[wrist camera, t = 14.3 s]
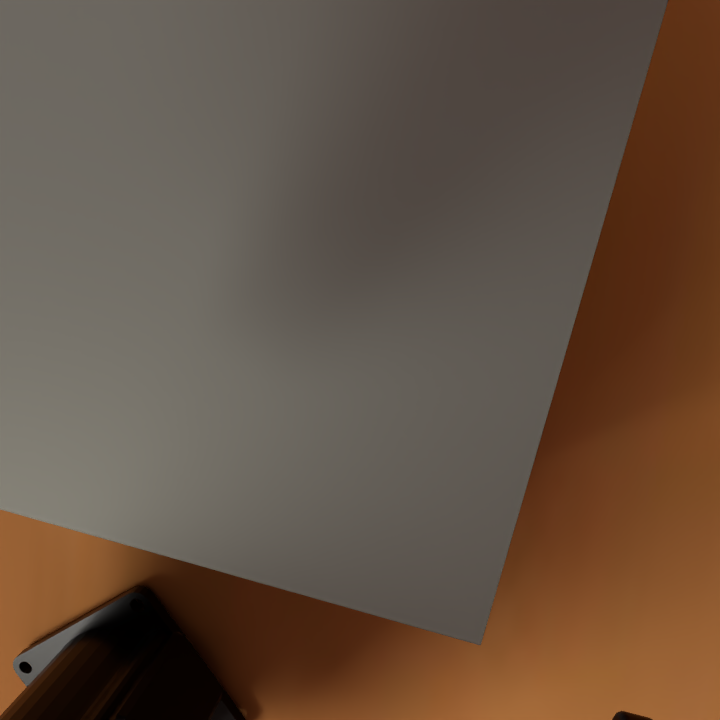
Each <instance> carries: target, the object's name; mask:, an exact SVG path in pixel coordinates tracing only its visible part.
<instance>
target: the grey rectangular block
mask: <svg viewBox="0 0 720 720" xmlns="http://www.w3.org/2000/svg"><path fill="white" fill-rule="evenodd" d="M667 3H668V0H0V509H1V510H5V511H8V512H12V513H15V514H19V515H22V516H26V517H29V518H33V519H36V520H40V521H43V522H47V523H50V524H54V525H57V526H61V527H65V528H68V529H72V530H75V531H79V532H82V533H86V534H89V535H93V536H96V537H100V538H103V539H107V540H110V541H114V542H117V543H121V544H125V545H128V546H132V547H135V548H139V549H142V550H146V551H149V552H153V553H156V554H160V555H163V556H167V557H170V558H174V559H177V560H181V561H185V562H188V563H192V564H195V565H199V566H202V567H206V568H209V569H213V570H216V571H220V572H223V573H227V574H230V575H234V576H237V577H241V578H245V579H248V580H252V581H255V582H259V583H262V584H266V585H269V586H273V587H276V588H280V589H283V590H287V591H290V592H294V593H297V594H301V595H305V596H308V597H312V598H315V599H319V600H322V601H326V602H329V603H333V604H336V605H340V606H343V607H347V608H350V609H354V610H357V611H361V612H365V613H368V614H372V615H375V616H379V617H382V618H386V619H389V620H393V621H396V622H400V623H403V624H407V625H410V626H414V627H417V628H421V629H425V630H428V631H432V632H435V633H439V634H442V635H446V636H449V637H453V638H456V639H460V640H463V641H467V642H470V643H474V644H477V645H481V642H482V638H483V635H484V631H485V628H486V625H487V621H488V618H489V614H490V611H491V607H492V604H493V601H494V597H495V594H496V590H497V587H498V583H499V580H500V576H501V573H502V570H503V566H504V563H505V559H506V556H507V552H508V549H509V546H510V542H511V539H512V535H513V532H514V528H515V525H516V522H517V518H518V515H519V511H520V508H521V504H522V501H523V497H524V494H525V491H526V487H527V484H528V480H529V477H530V473H531V470H532V467H533V463H534V460H535V456H536V453H537V449H538V446H539V442H540V439H541V436H542V432H543V429H544V425H545V422H546V418H547V415H548V412H549V408H550V405H551V401H552V398H553V394H554V391H555V387H556V384H557V381H558V377H559V374H560V370H561V367H562V363H563V360H564V357H565V353H566V350H567V346H568V343H569V339H570V336H571V333H572V329H573V326H574V322H575V319H576V315H577V312H578V308H579V305H580V302H581V298H582V295H583V291H584V288H585V284H586V281H587V278H588V274H589V271H590V267H591V264H592V260H593V257H594V253H595V250H596V247H597V243H598V240H599V236H600V233H601V229H602V226H603V223H604V219H605V216H606V212H607V209H608V205H609V202H610V198H611V195H612V192H613V188H614V185H615V181H616V178H617V174H618V171H619V168H620V164H621V161H622V157H623V154H624V150H625V147H626V144H627V140H628V137H629V133H630V130H631V126H632V123H633V119H634V116H635V113H636V109H637V106H638V102H639V99H640V95H641V92H642V89H643V85H644V82H645V78H646V75H647V71H648V68H649V64H650V61H651V58H652V54H653V51H654V47H655V44H656V40H657V37H658V34H659V30H660V27H661V23H662V20H663V16H664V13H665V10H666V6H667Z"/></svg>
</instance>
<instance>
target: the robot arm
mask: <svg viewBox="0 0 720 720" xmlns="http://www.w3.org/2000/svg"><path fill="white" fill-rule="evenodd" d="M136 599H139V600H141V601H142V602H143V604H144V605H141V604H139V603H138V602H137V600H136ZM13 667H14V670H15V672H16V673H17V675H18V676H19V677H20V679H21V680H22V681H23V682H24V684H25V685H26V686H27V688H26V689H25V690H24V691H23V692H22V693H21V694H20V695H19V696H18V697H17V698H16V699H15V701H14V702H13V703H12V704H11V705H10V706H9V707H8V708H7V709H6V710H5V711H4V712H3V714H2V715H1V716H0V720H245V718H244V716H243V715H242V713H241V712H240V711H239V709H238V708H237V707H236V705H235V704H234V702H233V701H232V700H231V698H230V697H229V696H228V694H227V693H226V691H225V690H224V689H223V687H222V686H221V685H220V683H219V682H218V680H217V679H216V678H215V676H214V675H213V674H212V672H211V671H210V669H209V668H208V667H207V665H206V664H205V663H204V661H203V660H202V658H201V657H200V656H199V654H198V653H197V652H196V650H195V649H194V648H193V646H192V645H191V643H190V642H189V641H188V639H187V638H186V637H185V635H184V634H183V632H182V631H181V630H180V628H179V627H178V626H177V624H176V623H175V621H174V620H173V619H172V617H171V616H170V615H169V613H168V612H167V610H166V609H165V608H164V606H163V605H162V604H161V602H160V601H159V600H158V598H157V597H156V595H155V594H154V593H153V592H152V591H151V590H150V589H149V588H147V587H145V586H137V587H134V588H132V589H130V590H128V591H127V592H125V593H123V594H121V595H120V596H118V597H116V598H114V599H113V600H111V601H109V602H107V603H106V604H104V605H102V606H100V607H98V608H97V609H95V610H93V611H91V612H90V613H88V614H86V615H84V616H83V617H81V618H79V619H77V620H76V621H74V622H72V623H70V624H68V625H67V626H65V627H63V628H61V629H60V630H58V631H56V632H54V633H53V634H51V635H49V636H47V637H46V638H44V639H42V640H40V641H38V642H37V643H35V644H33V645H31V646H30V647H28V648H26V649H24V650H23V651H22V652H21V653H20V654H19V655H18V656H17V657H16V658H15V659H14V662H13ZM612 720H652V719H650V718H648V717H644V716H640V715H636V714H632V713H629V712H625V711H620V712H618V713H616V714H615V716H614V717H613V719H612Z"/></svg>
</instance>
